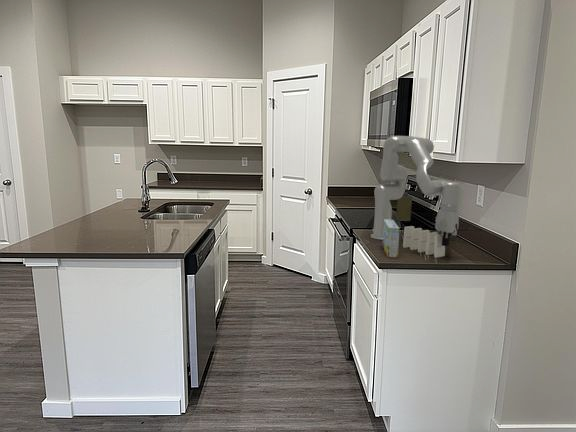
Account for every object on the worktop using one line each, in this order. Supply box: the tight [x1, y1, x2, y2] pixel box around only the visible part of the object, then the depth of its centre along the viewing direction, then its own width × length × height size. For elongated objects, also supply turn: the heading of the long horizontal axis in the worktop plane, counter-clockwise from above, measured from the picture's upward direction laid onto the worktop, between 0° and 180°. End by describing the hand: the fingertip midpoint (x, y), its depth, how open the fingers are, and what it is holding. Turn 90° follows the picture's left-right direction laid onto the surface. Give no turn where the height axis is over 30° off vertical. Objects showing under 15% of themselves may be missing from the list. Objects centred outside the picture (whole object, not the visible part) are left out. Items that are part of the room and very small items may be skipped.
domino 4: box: [424, 231, 439, 256], centre depth 202 cm, size 1×6×11 cm, turn 120°
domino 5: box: [433, 233, 446, 259], centre depth 198 cm, size 1×6×11 cm, turn 120°
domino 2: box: [409, 227, 423, 251], centre depth 211 cm, size 1×6×11 cm, turn 120°
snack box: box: [382, 218, 401, 258], centre depth 204 cm, size 21×6×15 cm, turn 174°
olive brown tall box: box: [395, 191, 413, 222], centre depth 292 cm, size 11×10×20 cm
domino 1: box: [402, 225, 415, 249], centre depth 215 cm, size 1×6×11 cm, turn 120°
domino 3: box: [417, 229, 431, 253], centre depth 207 cm, size 1×6×11 cm, turn 120°
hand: (445, 245), depth 195 cm, fingers closed
